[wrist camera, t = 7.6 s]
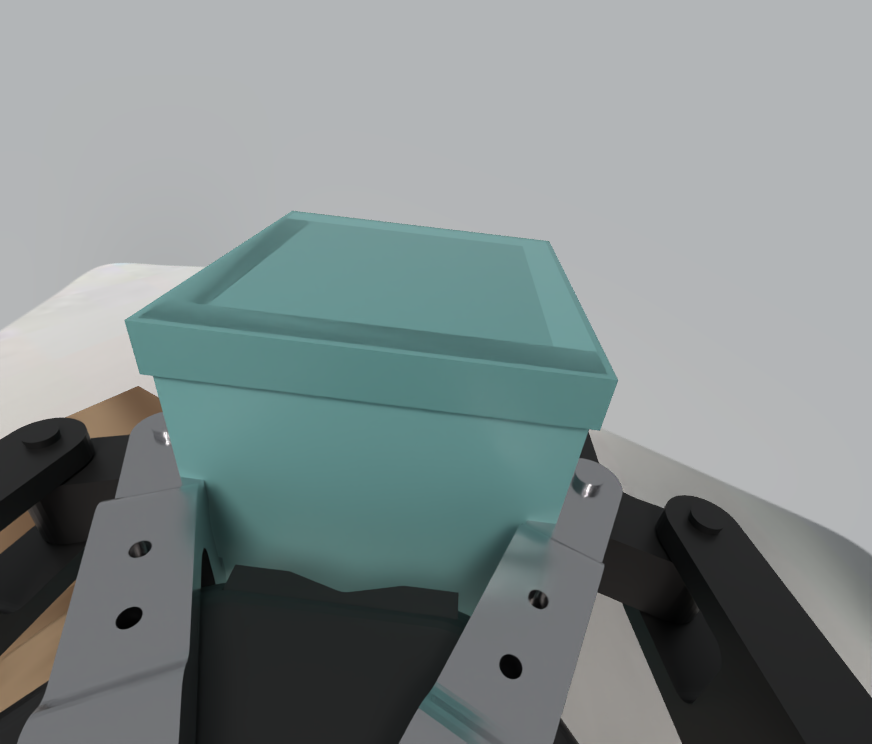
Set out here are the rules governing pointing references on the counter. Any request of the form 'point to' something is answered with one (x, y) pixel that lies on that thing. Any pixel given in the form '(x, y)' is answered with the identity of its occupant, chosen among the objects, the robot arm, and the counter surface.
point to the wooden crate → (37, 646)
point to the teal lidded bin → (376, 398)
